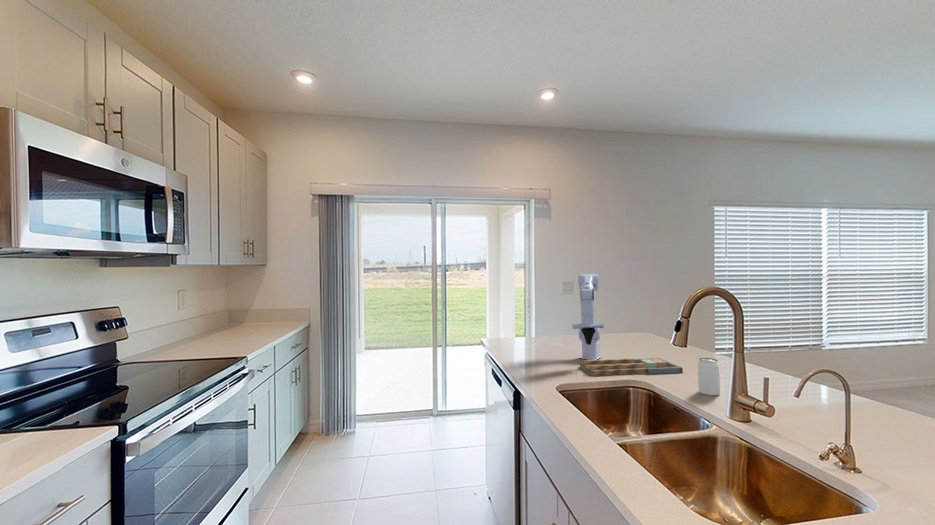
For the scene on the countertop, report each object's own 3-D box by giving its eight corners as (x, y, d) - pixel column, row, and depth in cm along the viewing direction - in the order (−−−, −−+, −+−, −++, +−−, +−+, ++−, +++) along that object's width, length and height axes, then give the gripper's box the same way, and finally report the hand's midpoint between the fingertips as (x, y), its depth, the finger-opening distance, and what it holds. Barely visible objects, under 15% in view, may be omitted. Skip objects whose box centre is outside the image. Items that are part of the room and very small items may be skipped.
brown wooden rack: (592, 376, 154) (592, 367, 154) (579, 367, 168) (579, 359, 168) (646, 373, 156) (646, 365, 156) (629, 364, 170) (629, 357, 170)
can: (723, 396, 127) (722, 362, 127) (703, 395, 128) (702, 361, 128) (715, 390, 133) (714, 357, 133) (695, 389, 135) (694, 357, 135)
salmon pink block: (657, 369, 160) (657, 362, 160) (650, 365, 166) (649, 359, 166) (666, 369, 160) (666, 362, 160) (658, 365, 166) (658, 358, 166)
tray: (648, 374, 154) (648, 369, 154) (628, 364, 171) (628, 359, 171) (682, 372, 156) (682, 367, 156) (659, 362, 172) (659, 358, 172)
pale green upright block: (648, 369, 160) (648, 363, 160) (640, 366, 166) (640, 359, 166) (657, 369, 160) (656, 362, 160) (649, 365, 166) (649, 359, 166)
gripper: (576, 316, 164) (576, 346, 163) (606, 315, 165) (607, 345, 165) (570, 314, 171) (570, 343, 170) (599, 313, 172) (600, 342, 172)
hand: (588, 344), depth 168 cm, fingers closed
